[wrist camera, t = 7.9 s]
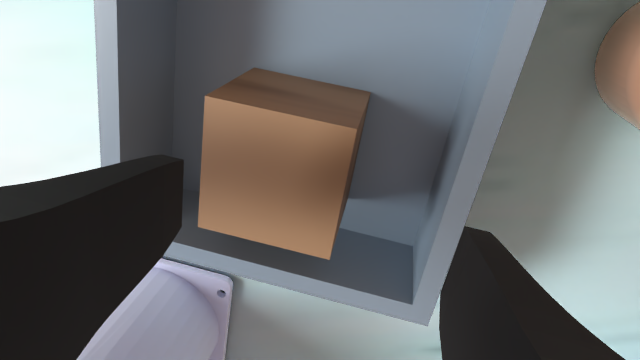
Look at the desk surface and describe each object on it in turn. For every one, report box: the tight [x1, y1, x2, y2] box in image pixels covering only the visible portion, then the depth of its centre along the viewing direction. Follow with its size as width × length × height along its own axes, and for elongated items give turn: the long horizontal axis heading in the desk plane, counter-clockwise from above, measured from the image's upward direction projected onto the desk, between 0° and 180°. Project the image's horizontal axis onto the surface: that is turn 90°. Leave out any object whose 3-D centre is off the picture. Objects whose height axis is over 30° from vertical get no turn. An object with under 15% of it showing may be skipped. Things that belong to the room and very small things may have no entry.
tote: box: [94, 0, 547, 326], centre depth 17 cm, size 18×14×5 cm
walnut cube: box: [198, 68, 371, 260], centre depth 18 cm, size 5×5×5 cm
